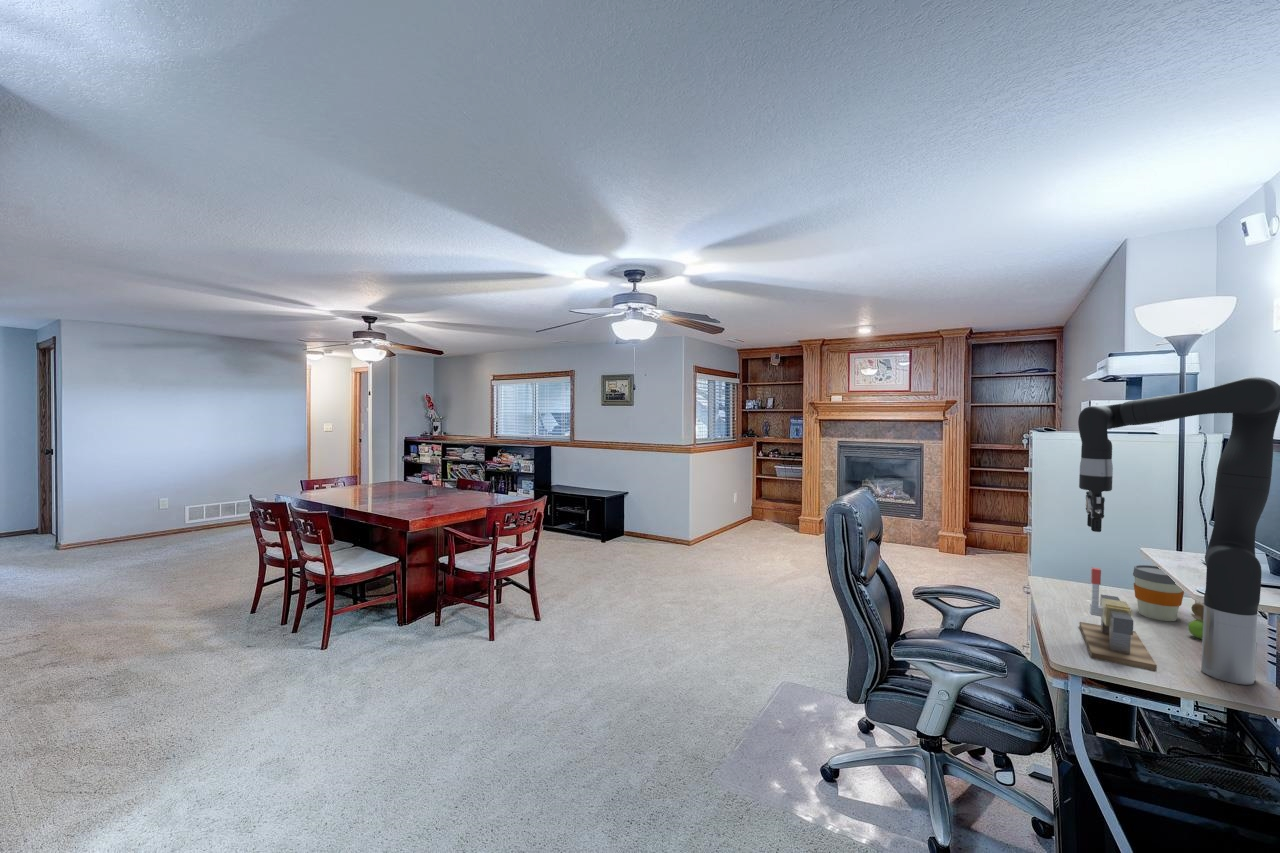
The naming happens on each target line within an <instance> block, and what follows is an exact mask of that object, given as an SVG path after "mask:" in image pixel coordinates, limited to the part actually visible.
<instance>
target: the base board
mask: <svg viewBox="0 0 1280 853" xmlns="http://www.w3.org/2000/svg"><path fill="white" fill-rule="evenodd" d="M1078 626H1079V630H1080V631H1081V634H1082V638H1083V639H1084V642H1085V644H1086V647H1087V650H1088V652H1089V654H1090V657H1091V659H1094V660H1099V661H1104V662H1110V663H1114V664H1119V665H1124V666H1131V667H1136V668H1140V669H1146V670H1148V671H1149V670H1151V671H1155V672H1157V667H1158V665H1157V663H1156V662H1155V660H1154V659H1153V657H1152V656H1151V654H1150V653H1149V651H1148V649H1147V647H1146V646H1145V644H1144V643H1143V641H1142V639H1141V638H1140V636H1139V634H1138V633H1137V632H1136V630H1133V635H1131V643H1130V654H1126V653H1120V652H1115V651H1111V650H1110V648H1109V634H1104V633H1102V632H1101V624H1094V623H1089V622H1084V621H1079V625H1078Z"/></svg>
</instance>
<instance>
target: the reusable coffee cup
mask: <svg viewBox="0 0 1280 853" xmlns="http://www.w3.org/2000/svg"><path fill="white" fill-rule="evenodd" d="M1158 567H1159V566H1158ZM1158 567H1157V565H1148V564H1146V565H1145V564H1139V565H1135V566H1133V573H1132V576H1133V578H1134V582H1133V590H1134V597H1135V598H1136V600H1137V606H1138V607H1137V609H1138V613H1139V614H1140V615H1141V616H1143V617H1146V618H1148V619H1153V620H1158V621H1164V622H1165V621H1166V622H1175V621H1176V620H1177V617H1178V613H1179V608H1180V606H1182V603H1183V598H1184V594H1185V591H1184V589H1183V590H1182V589H1181V588H1179V587H1178V586H1177V585H1176V584H1175V582H1174V581H1173V580H1172V579H1171V578H1170V577H1169V576H1168V575H1167V574H1165V573H1164V572H1163V571H1162V570H1161V569H1159V568H1158Z"/></svg>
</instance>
